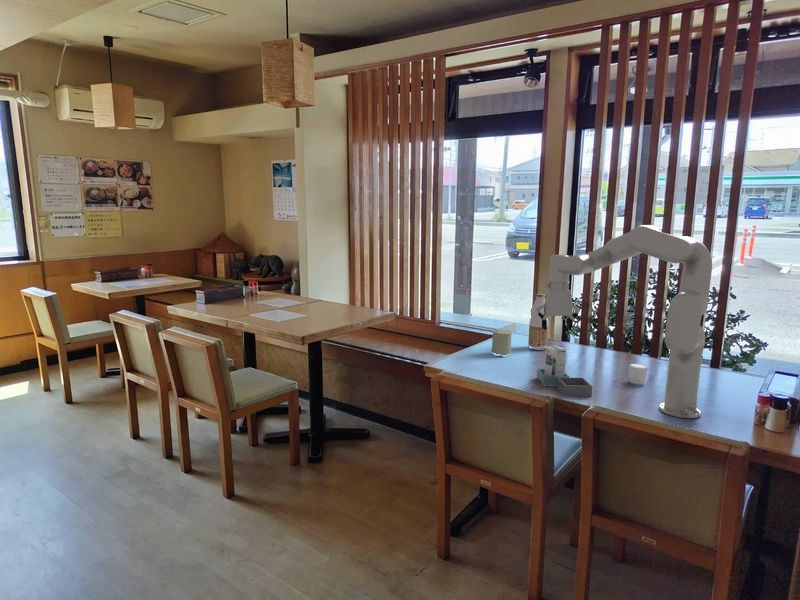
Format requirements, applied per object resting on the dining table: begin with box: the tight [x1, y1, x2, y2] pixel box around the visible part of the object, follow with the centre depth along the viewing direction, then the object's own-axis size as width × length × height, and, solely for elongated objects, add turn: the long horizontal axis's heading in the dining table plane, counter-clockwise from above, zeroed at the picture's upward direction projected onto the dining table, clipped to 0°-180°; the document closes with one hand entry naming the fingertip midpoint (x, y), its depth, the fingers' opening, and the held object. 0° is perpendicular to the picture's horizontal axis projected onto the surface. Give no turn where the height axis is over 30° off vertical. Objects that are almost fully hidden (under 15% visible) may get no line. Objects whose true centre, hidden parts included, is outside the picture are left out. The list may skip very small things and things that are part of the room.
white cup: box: [628, 363, 649, 386], centre depth 205 cm, size 7×7×7 cm
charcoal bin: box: [556, 377, 593, 397], centre depth 192 cm, size 10×10×4 cm
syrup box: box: [544, 345, 567, 376], centre depth 202 cm, size 6×6×14 cm
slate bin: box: [536, 368, 570, 386], centre depth 203 cm, size 10×10×4 cm
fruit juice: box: [527, 293, 550, 348], centre depth 255 cm, size 9×9×28 cm
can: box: [491, 329, 513, 355], centre depth 243 cm, size 9×9×12 cm
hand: (556, 329), depth 200 cm, fingers open, 9 cm apart
